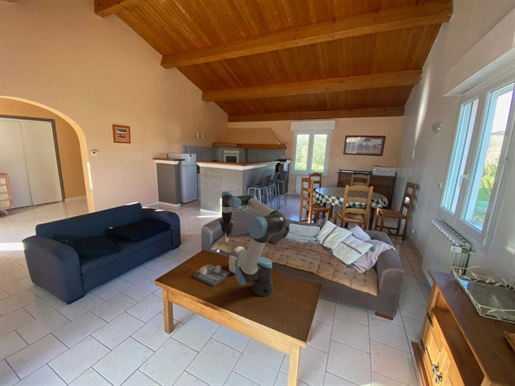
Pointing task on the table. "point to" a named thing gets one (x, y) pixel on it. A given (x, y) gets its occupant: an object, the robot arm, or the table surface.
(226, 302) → the table surface
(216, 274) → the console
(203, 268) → the fader
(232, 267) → the alarm clock
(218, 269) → the fader
